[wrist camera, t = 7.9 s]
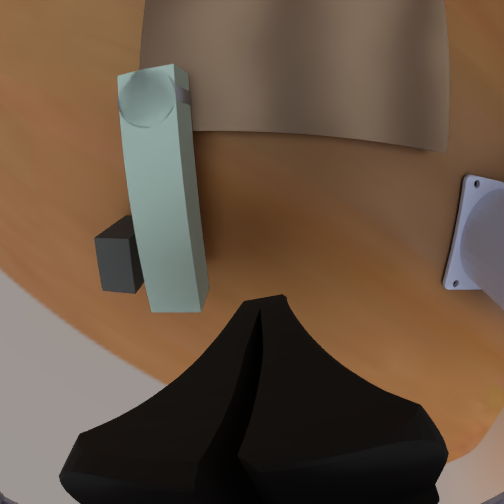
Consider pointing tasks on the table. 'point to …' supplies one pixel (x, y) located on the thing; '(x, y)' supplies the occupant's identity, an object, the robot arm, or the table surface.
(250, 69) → the stool seat
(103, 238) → the block
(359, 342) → the table surface
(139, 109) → the folding leg
